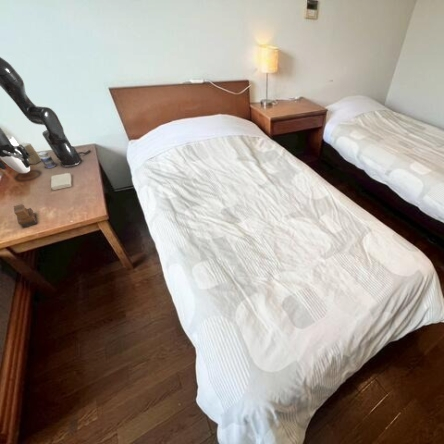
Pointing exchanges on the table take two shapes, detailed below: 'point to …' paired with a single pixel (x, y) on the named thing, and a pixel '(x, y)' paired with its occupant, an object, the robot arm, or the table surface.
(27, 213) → the brush
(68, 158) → the robot arm
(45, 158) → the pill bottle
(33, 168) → the table surface
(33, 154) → the olive brown tapered block
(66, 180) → the tile
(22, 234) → the table surface
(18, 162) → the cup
